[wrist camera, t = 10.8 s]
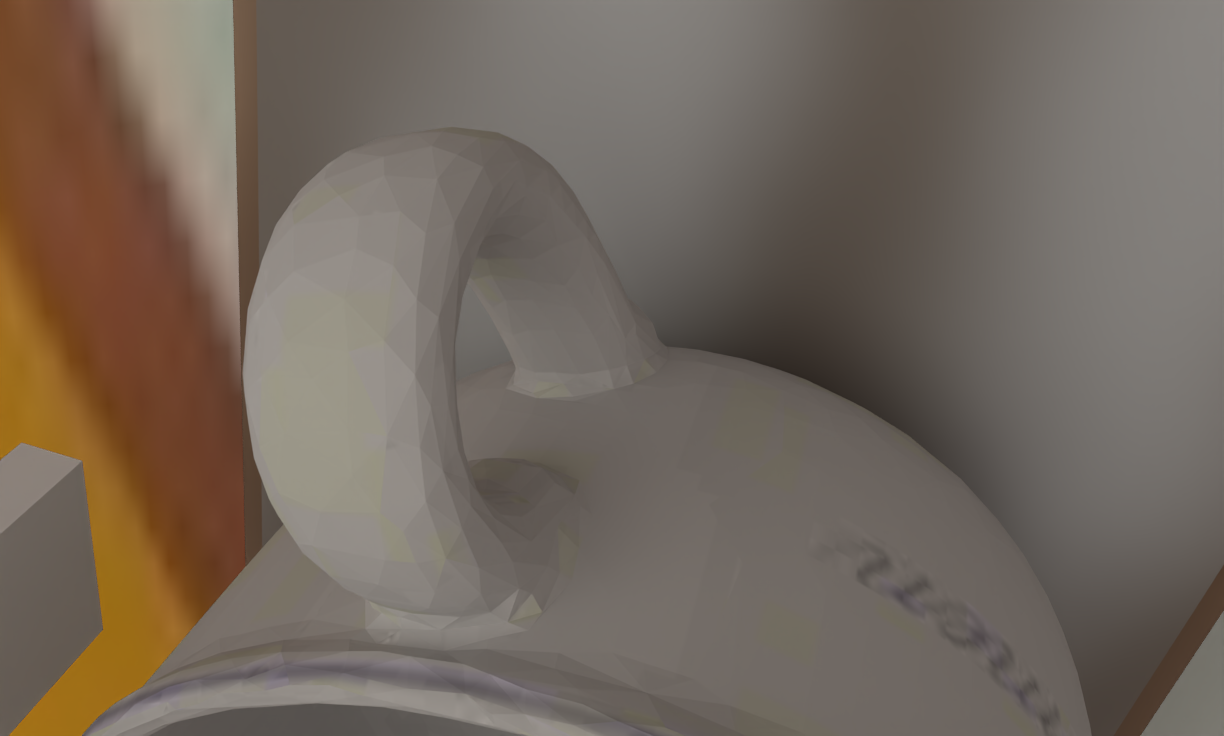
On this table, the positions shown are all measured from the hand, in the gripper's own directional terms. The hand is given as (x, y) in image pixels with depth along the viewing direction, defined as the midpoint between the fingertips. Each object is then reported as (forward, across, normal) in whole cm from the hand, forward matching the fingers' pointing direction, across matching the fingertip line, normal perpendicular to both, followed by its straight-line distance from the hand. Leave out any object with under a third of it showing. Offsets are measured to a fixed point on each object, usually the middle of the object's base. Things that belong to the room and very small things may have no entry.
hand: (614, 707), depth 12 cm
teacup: (+5, 0, 0) cm, 5 cm away
